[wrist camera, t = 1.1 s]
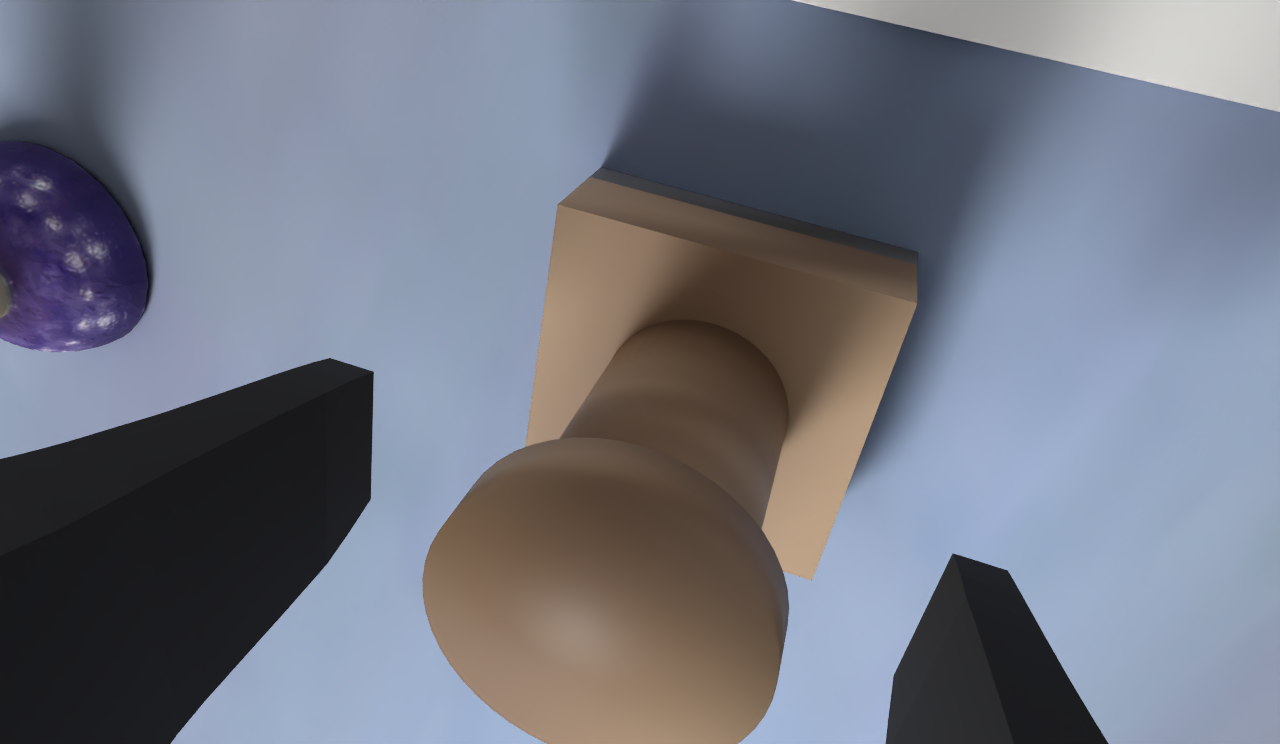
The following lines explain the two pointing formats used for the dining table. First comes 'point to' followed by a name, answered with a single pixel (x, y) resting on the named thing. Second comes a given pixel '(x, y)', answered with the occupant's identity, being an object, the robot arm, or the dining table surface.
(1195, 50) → the paper sheet
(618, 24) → the dining table surface
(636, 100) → the dining table surface
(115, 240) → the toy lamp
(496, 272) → the dining table surface
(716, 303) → the stamp
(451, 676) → the dining table surface
